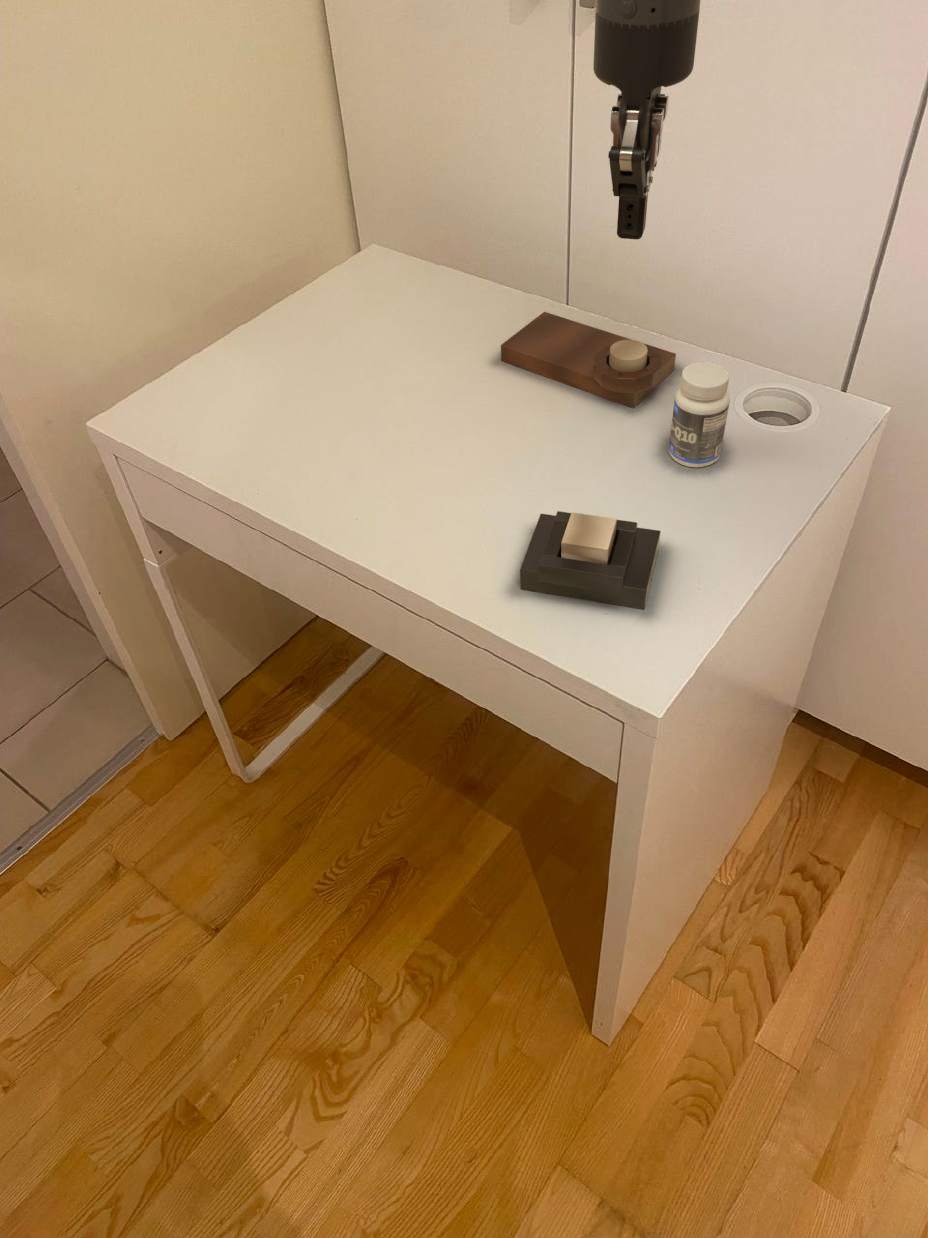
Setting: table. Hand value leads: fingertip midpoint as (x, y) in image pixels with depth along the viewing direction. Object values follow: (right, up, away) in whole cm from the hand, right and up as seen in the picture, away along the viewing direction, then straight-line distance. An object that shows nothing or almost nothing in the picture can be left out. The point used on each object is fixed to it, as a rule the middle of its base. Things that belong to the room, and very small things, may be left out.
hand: (630, 234), depth 82 cm
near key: (-5, -27, -8) cm, 29 cm away
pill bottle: (+7, -18, +6) cm, 20 cm away
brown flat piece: (-2, -7, +16) cm, 18 cm away
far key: (+2, -8, +11) cm, 14 cm away
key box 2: (-4, -29, -4) cm, 30 cm away
